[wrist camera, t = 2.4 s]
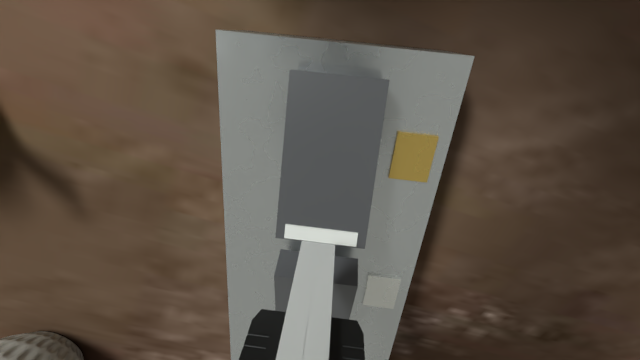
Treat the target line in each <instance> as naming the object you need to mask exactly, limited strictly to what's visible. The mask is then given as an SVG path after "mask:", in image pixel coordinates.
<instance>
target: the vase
mask: <svg viewBox="0 0 640 360" xmlns="http://www.w3.org/2000/svg"><path fill="white" fill-rule="evenodd" d="M0 360H84V358H83V354H82V352H81V350H80V349H79V348H78V347H77V346H76V345H75V344H74V343H73V342H72V341H70V340H69V339H67V338H65V337H63V336H61V335H59V334H56V333H52V332H47V331H38V332H31V333H24V334H18V335H13V336H8V337H5V338H1V339H0Z"/></svg>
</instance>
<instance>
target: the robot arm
mask: <svg viewBox="0 0 640 360" xmlns="http://www.w3.org/2000/svg"><path fill="white" fill-rule="evenodd" d="M334 258H335V245H334V244H326V243H317V242H309V241H302V242H301V247H300V251H299V256H298V261H297V265H296V270H295V274H294V279H293V283H292V288H291V292H290V297H289V301H288V306H287V310H286V312H281V311H274V310H266V309H261V310H260V311H259V312H258V313H257V315H256V316H255V317H254V318H253V319H252V321H251V324H250V327H249V330H248V334H247V336H246V339H245V342H244V346H243V348H242V351H241V354H240V357H239V360H365V351H364V333H363V331H362V329H361V327H360V325H359V323H358V321H357V320H349V319H341V318H334V317H331V312H332V294H333V276H334Z"/></svg>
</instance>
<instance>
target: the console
mask: <svg viewBox="0 0 640 360" xmlns="http://www.w3.org/2000/svg"><path fill="white" fill-rule="evenodd" d="M216 49H217V70H218V91H219V112H220V134H221V155H222V176H223V197H224V219H225V240H226V261H227V282H228V303H229V325H230V346H231V360H239V357H240V354H241V351H242V348H243V346H244V342H245V339H246V336H247V334H248V330H249V327H250V324H251V321H252V319H253V318H254V317H255V316H256V315H257V313H258V312H259V311H260V310H261V309H266V310H274V311H275V288H274V274H275V270H276V266H277V262H278V258H279V253H280V249H284V250H292V251H300V247H301V242H302V241H296V240H288V239H280V238H275V237H276V225H277V213H278V201H279V189H280V177H281V165H282V154H283V142H284V130H285V118H286V106H287V94H288V82H289V71H290V69H292V70H302V71H311V72H321V73H330V74H340V75H349V76H359V77H368V78H378V79H387V80H390V81H389V87H388V94H387V101H386V108H385V115H384V122H383V129H382V135H381V142H380V149H379V156H378V163H377V170H376V177H375V183H374V190H373V197H372V204H371V211H370V218H369V225H368V231H367V238H366V245H365V249H361V248H352V247H344V246H336V245H335V256H340V257H348V258H356V259H358V288H357V292H356V295H355V299H354V303H353V307H352V311H351V315H350V318H349V320H357V321H358V323H359V325H360V327H361V329H362V331H363V333H364V351H365V360H389V357H390V353H391V350H392V346H393V343H394V339H395V336H396V332H397V329H398V325H399V322H400V318H401V315H402V311H403V307H404V304H405V300H406V297H407V293H408V290H409V286H410V283H411V279H412V276H413V272H414V269H415V265H416V262H417V258H418V254H419V251H420V247H421V244H422V240H423V237H424V233H425V230H426V226H427V223H428V219H429V216H430V212H431V208H432V205H433V201H434V198H435V194H436V191H437V187H438V184H439V180H440V177H441V173H442V170H443V166H444V163H445V159H446V155H447V152H448V148H449V145H450V141H451V138H452V134H453V131H454V127H455V124H456V120H457V117H458V113H459V110H460V106H461V102H462V99H463V95H464V92H465V88H466V85H467V81H468V78H469V74H470V71H471V67H472V64H473V60H474V57H475V56H471V55H465V54H460V53H455V52H450V51H441V50H432V49H422V48H412V47H402V46H392V45H382V44H373V43H363V42H353V41H343V40H333V39H324V38H314V37H304V36H294V35H284V34H274V33H265V32H255V31H245V30H216Z"/></svg>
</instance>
